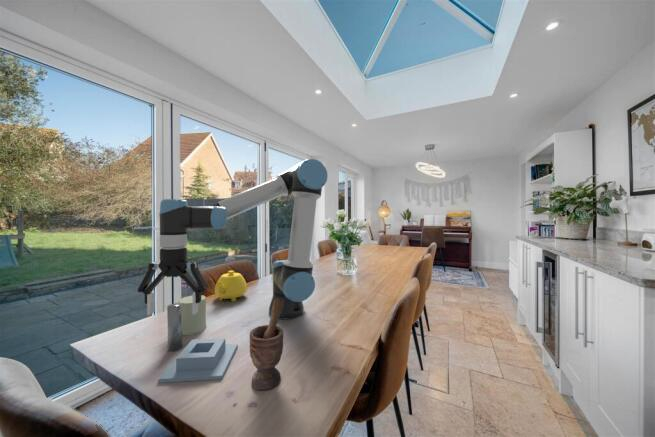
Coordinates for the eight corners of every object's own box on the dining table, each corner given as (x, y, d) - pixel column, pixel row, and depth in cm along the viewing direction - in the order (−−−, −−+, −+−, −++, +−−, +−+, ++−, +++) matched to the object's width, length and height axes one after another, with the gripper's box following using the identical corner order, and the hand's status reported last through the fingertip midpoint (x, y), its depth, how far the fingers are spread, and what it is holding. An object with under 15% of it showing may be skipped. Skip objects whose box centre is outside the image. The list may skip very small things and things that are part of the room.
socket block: (237, 346, 83) (237, 333, 82) (222, 379, 67) (221, 362, 66) (186, 349, 81) (186, 335, 81) (158, 382, 65) (157, 365, 65)
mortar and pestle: (257, 363, 73) (257, 296, 73) (287, 363, 74) (287, 296, 73) (245, 392, 62) (244, 312, 61) (280, 392, 62) (280, 312, 61)
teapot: (232, 307, 116) (232, 278, 115) (202, 305, 118) (201, 276, 118) (252, 293, 135) (252, 268, 135) (226, 291, 138) (225, 267, 138)
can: (194, 336, 89) (194, 303, 89) (172, 333, 91) (172, 301, 91) (211, 324, 98) (211, 294, 98) (191, 322, 100) (190, 292, 100)
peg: (184, 344, 84) (184, 302, 83) (178, 351, 80) (178, 307, 79) (172, 344, 83) (171, 303, 83) (165, 351, 79) (164, 308, 79)
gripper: (217, 246, 86) (217, 307, 86) (139, 245, 83) (139, 309, 84) (209, 249, 78) (209, 317, 79) (123, 248, 76) (123, 318, 76)
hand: (173, 313), depth 81 cm, fingers open, 13 cm apart
